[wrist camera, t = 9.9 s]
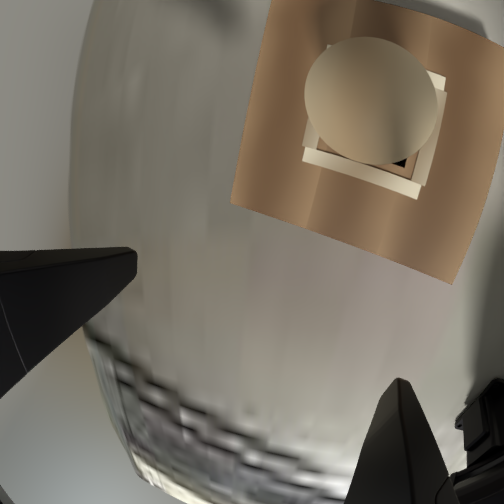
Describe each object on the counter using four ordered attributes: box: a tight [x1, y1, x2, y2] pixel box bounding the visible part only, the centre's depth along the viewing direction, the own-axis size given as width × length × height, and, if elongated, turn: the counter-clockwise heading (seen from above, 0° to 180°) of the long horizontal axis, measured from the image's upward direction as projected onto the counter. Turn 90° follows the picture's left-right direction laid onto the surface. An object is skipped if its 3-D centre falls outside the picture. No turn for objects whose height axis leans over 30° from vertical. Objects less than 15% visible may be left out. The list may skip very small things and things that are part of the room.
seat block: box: [230, 0, 504, 285], centre depth 14 cm, size 14×14×3 cm
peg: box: [304, 37, 438, 165], centre depth 12 cm, size 5×5×8 cm
